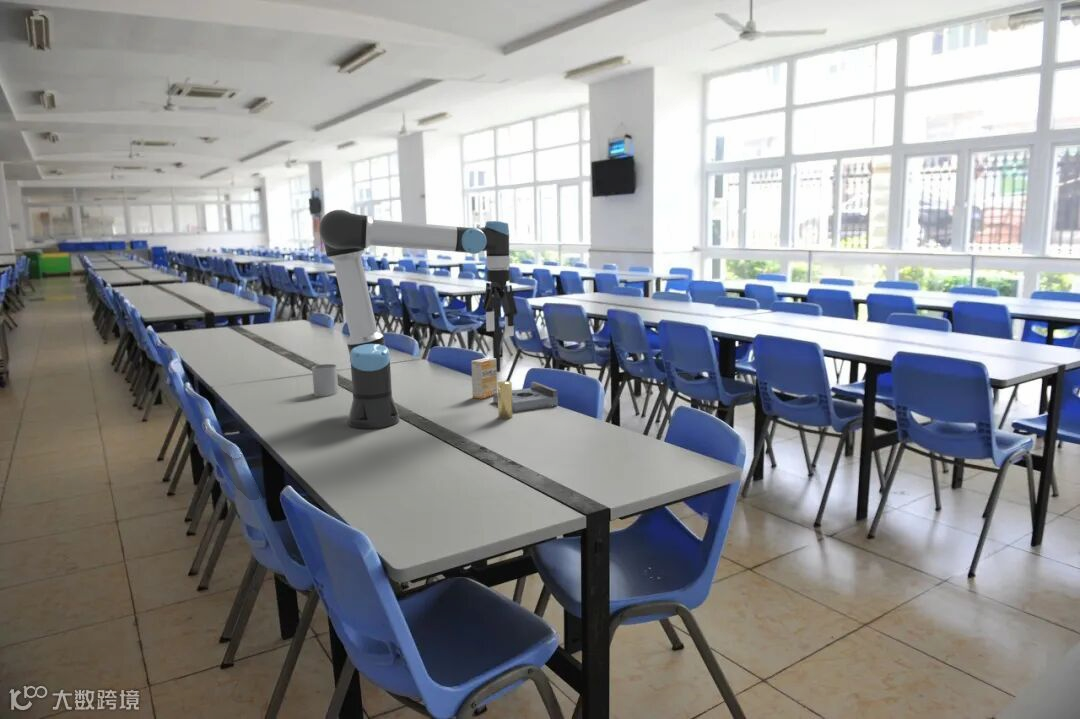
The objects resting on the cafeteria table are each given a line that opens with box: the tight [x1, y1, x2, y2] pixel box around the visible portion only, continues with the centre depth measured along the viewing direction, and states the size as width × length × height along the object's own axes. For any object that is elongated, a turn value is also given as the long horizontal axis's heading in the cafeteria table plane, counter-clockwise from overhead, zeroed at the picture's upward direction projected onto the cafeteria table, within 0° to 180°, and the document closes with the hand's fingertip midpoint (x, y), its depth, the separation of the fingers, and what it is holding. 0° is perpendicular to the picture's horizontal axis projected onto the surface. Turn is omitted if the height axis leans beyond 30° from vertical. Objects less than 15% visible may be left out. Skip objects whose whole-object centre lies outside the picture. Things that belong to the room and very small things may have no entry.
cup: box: [311, 363, 339, 397], centre depth 269 cm, size 8×8×10 cm
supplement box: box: [471, 357, 498, 400], centre depth 260 cm, size 8×5×13 cm, turn 143°
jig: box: [492, 381, 559, 413], centre depth 249 cm, size 16×16×5 cm
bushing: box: [497, 380, 514, 420], centre depth 232 cm, size 4×4×11 cm
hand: (499, 333), depth 248 cm, fingers open, 13 cm apart
